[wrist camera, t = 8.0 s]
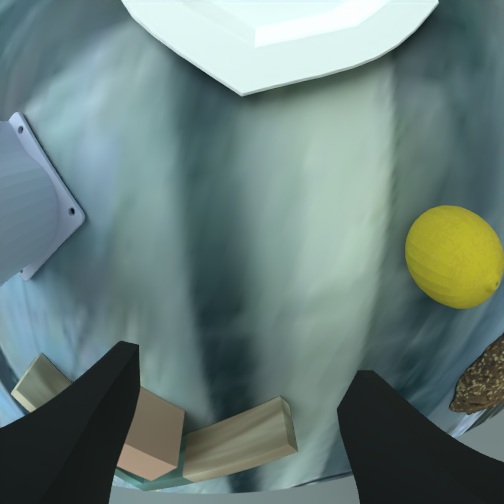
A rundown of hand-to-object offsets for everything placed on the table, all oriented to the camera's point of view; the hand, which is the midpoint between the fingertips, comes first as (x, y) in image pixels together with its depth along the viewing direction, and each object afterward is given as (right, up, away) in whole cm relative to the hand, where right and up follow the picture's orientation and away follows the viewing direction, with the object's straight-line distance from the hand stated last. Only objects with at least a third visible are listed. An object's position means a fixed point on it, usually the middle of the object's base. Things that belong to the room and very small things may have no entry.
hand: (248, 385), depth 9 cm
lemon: (+11, +6, +9) cm, 16 cm away
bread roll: (+28, -10, +16) cm, 34 cm away
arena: (-8, -7, +13) cm, 17 cm away
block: (-9, -10, +14) cm, 19 cm away
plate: (+1, +23, +3) cm, 23 cm away
